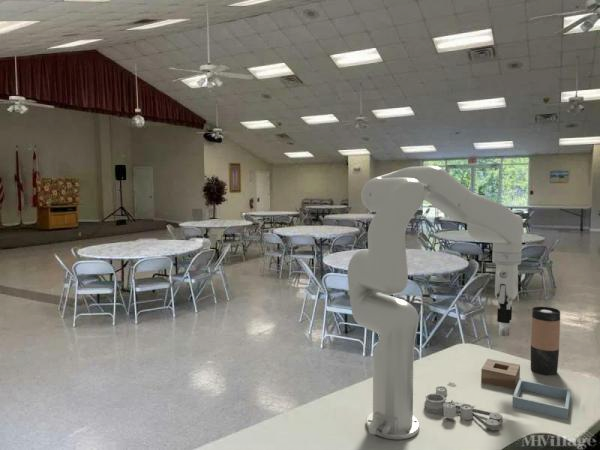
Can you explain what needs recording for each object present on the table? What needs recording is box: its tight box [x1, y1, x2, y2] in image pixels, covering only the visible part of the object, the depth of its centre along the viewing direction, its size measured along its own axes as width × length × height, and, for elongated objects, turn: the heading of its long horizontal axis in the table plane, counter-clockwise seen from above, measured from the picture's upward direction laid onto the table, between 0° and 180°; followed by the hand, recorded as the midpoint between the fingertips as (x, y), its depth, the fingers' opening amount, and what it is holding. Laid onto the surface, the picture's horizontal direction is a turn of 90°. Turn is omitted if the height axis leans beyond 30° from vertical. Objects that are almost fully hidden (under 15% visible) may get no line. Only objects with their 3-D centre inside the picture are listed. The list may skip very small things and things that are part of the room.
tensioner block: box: [480, 358, 521, 391], centre depth 135 cm, size 9×9×5 cm
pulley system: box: [423, 381, 504, 431], centre depth 121 cm, size 27×5×15 cm
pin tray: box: [511, 378, 571, 420], centre depth 121 cm, size 12×12×4 cm
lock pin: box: [498, 300, 513, 337], centre depth 132 cm, size 4×4×10 cm
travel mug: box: [530, 306, 561, 377], centre depth 140 cm, size 8×8×20 cm
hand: (504, 320), depth 133 cm, fingers closed on lock pin, 2 cm apart
